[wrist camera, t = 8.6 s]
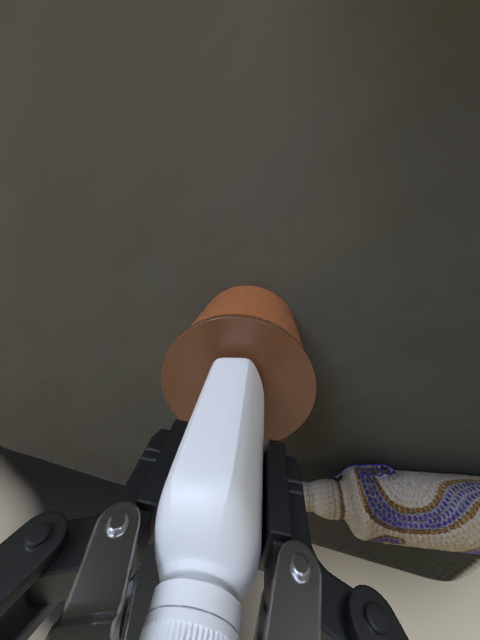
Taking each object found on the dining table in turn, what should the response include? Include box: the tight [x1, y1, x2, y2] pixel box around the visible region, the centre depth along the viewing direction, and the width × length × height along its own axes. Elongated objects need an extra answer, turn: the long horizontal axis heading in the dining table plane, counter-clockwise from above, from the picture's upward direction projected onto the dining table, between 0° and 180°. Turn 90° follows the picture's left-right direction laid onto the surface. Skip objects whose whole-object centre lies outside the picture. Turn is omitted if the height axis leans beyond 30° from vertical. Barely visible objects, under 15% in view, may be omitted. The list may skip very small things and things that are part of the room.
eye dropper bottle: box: [139, 358, 264, 640], centre depth 9 cm, size 4×6×12 cm
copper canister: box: [161, 286, 317, 446], centre depth 19 cm, size 10×10×9 cm
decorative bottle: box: [302, 464, 480, 554], centre depth 25 cm, size 26×8×7 cm, turn 92°
